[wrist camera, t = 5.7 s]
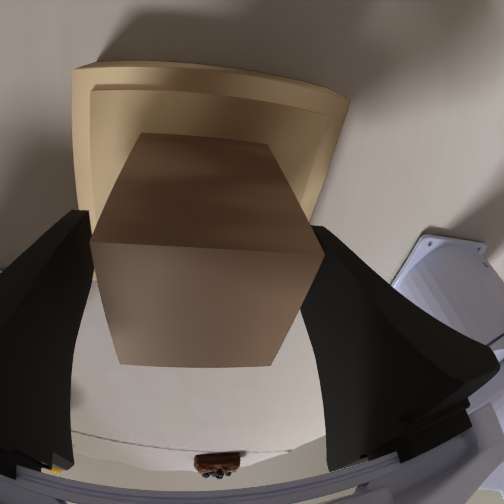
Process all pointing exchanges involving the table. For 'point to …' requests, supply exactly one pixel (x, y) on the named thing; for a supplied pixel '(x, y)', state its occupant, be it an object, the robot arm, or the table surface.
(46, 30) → the table surface
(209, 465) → the pastry
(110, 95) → the oak base
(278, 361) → the table surface
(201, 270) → the walnut block
